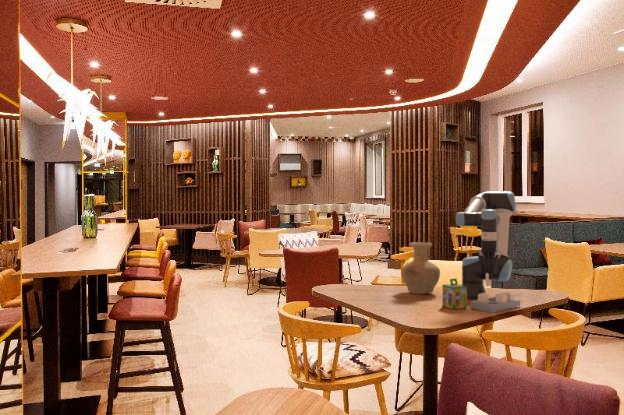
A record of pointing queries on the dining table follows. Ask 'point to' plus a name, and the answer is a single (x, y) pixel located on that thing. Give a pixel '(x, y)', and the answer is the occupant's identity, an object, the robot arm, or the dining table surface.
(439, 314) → the dining table surface
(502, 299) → the tab
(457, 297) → the chalk box
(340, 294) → the dining table surface
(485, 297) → the tab
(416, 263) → the vase
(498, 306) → the switch bank
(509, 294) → the tab
